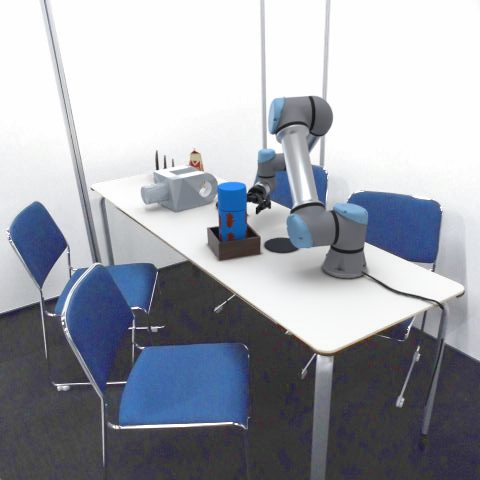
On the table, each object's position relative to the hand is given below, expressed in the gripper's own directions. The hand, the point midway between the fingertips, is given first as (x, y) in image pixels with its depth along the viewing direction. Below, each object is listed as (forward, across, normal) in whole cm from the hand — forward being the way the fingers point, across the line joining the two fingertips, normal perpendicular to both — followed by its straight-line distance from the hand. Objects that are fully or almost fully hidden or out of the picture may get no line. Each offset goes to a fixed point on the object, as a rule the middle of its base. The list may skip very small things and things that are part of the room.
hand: (240, 209), depth 184 cm
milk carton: (-64, +51, -14) cm, 83 cm away
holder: (+8, 0, -14) cm, 16 cm away
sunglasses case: (-30, +17, -14) cm, 37 cm away
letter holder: (-72, +75, -14) cm, 104 cm away
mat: (-1, -17, -14) cm, 22 cm away
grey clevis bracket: (-33, +46, -14) cm, 58 cm away
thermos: (+8, 0, -14) cm, 16 cm away
